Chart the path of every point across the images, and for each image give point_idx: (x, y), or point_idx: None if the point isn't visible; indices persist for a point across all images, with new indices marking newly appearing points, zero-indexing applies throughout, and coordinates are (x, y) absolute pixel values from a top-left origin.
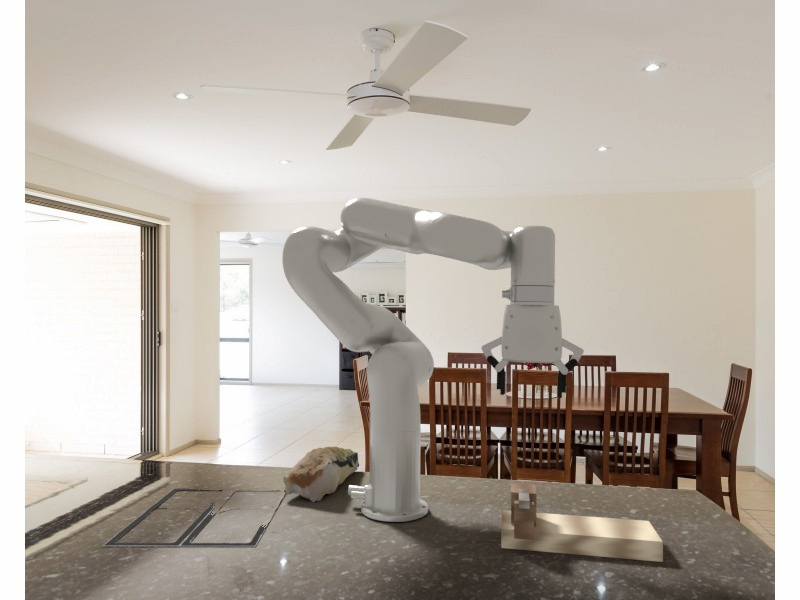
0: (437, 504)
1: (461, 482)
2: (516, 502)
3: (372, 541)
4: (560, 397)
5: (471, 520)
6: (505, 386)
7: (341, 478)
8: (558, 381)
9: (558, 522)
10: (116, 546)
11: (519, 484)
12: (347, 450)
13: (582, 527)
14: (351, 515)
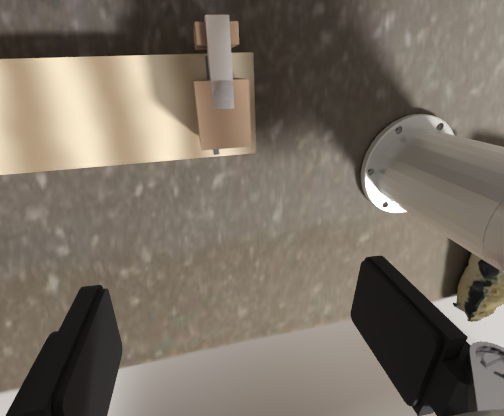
0: (346, 211)
1: (315, 307)
2: (233, 29)
3: (436, 29)
4: (91, 286)
5: (297, 162)
6: (365, 331)
7: None
8: (73, 360)
9: (155, 117)
10: None
11: (234, 143)
12: (495, 302)
13: (108, 101)
14: (462, 129)
